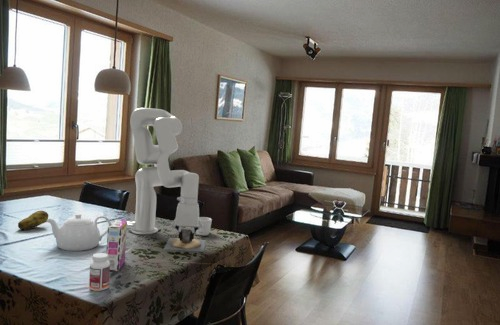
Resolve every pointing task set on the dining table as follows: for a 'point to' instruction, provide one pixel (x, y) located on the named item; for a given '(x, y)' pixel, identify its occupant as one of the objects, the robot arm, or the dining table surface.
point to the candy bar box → (116, 244)
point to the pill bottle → (99, 272)
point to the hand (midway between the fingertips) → (186, 240)
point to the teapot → (77, 233)
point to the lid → (185, 241)
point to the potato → (33, 220)
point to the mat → (200, 249)
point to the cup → (204, 226)
